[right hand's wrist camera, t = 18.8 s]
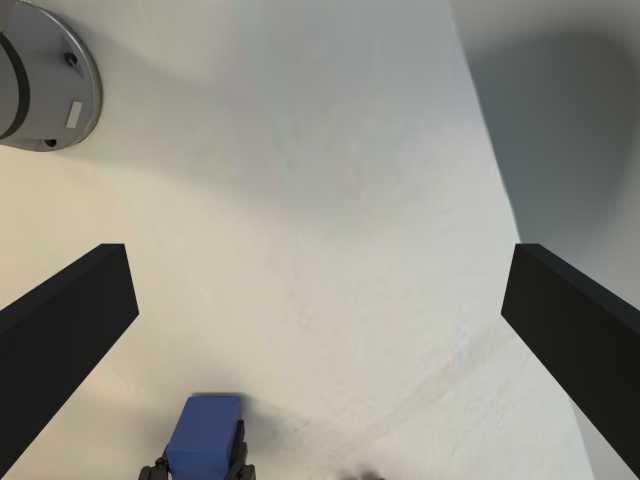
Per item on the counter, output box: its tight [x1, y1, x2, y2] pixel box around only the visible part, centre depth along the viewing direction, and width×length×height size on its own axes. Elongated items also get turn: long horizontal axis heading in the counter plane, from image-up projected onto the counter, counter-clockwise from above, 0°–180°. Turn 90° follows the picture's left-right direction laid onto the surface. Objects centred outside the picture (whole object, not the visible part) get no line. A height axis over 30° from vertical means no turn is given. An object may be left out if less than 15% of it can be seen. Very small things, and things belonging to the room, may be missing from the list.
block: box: [166, 397, 242, 480], centre depth 54 cm, size 9×8×9 cm
